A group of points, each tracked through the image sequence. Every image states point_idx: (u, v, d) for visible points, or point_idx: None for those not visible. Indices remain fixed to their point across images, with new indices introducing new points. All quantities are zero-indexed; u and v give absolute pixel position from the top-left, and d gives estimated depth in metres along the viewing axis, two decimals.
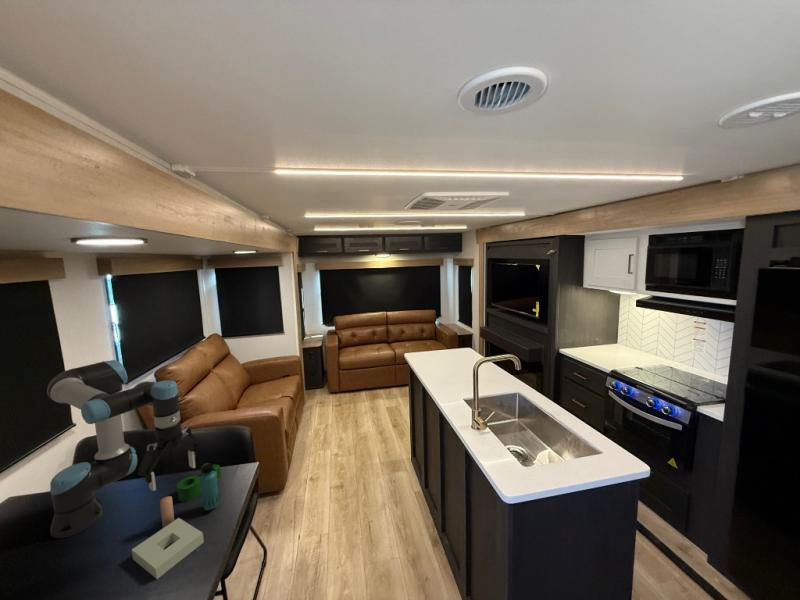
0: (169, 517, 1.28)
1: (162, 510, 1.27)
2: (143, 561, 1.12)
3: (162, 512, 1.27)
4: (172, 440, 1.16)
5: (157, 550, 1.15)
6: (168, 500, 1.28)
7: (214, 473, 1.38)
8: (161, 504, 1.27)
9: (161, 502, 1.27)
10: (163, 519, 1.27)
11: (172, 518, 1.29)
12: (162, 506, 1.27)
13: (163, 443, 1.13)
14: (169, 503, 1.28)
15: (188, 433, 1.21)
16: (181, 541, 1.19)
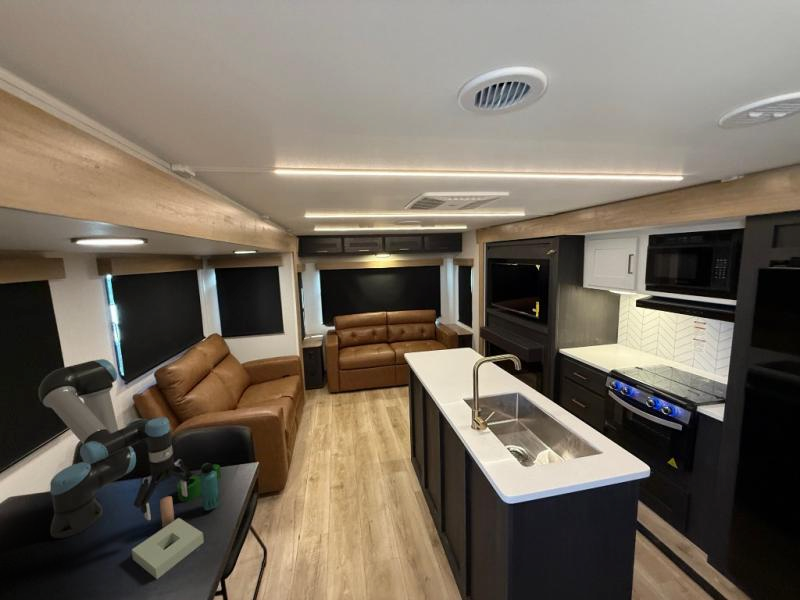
0: (169, 517, 1.28)
1: (162, 510, 1.27)
2: (143, 561, 1.12)
3: (162, 512, 1.27)
4: (165, 472, 1.27)
5: (157, 550, 1.15)
6: (168, 500, 1.28)
7: (214, 473, 1.38)
8: (161, 504, 1.27)
9: (161, 502, 1.27)
10: (163, 519, 1.27)
11: (172, 518, 1.29)
12: (162, 506, 1.27)
13: (157, 476, 1.24)
14: (169, 503, 1.28)
15: (180, 465, 1.32)
16: (181, 541, 1.19)
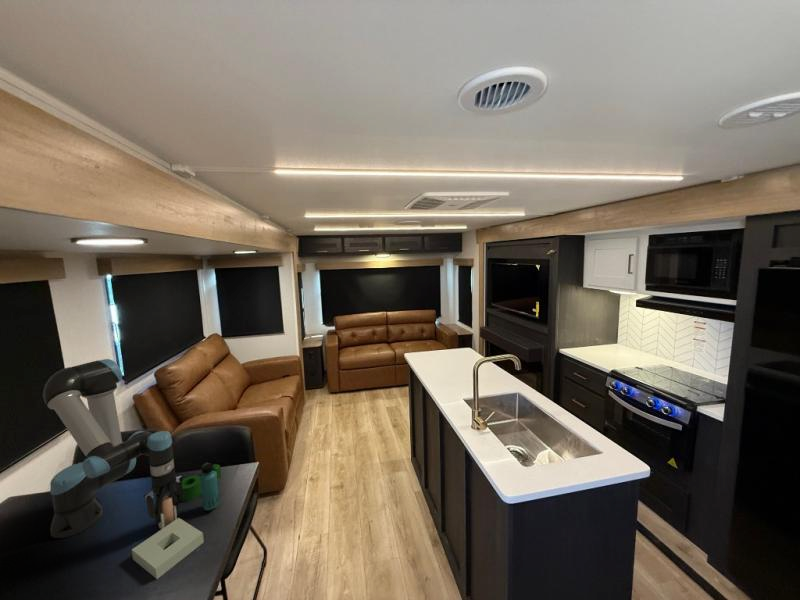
0: (168, 517, 1.28)
1: (162, 509, 1.27)
2: (143, 561, 1.12)
3: (162, 511, 1.27)
4: (167, 484, 1.28)
5: (157, 550, 1.15)
6: (168, 499, 1.28)
7: (214, 473, 1.38)
8: None
9: None
10: None
11: (172, 517, 1.29)
12: (162, 505, 1.27)
13: (158, 488, 1.25)
14: (169, 502, 1.28)
15: (180, 481, 1.32)
16: (181, 541, 1.19)
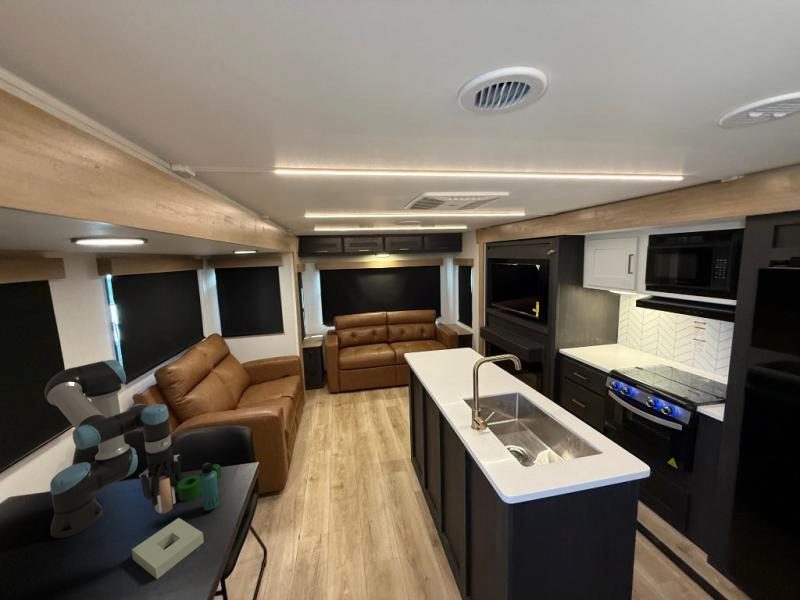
0: (166, 499, 1.16)
1: (158, 490, 1.15)
2: (143, 561, 1.12)
3: (158, 493, 1.15)
4: (163, 463, 1.16)
5: (157, 550, 1.15)
6: (165, 480, 1.17)
7: (214, 473, 1.38)
8: None
9: None
10: None
11: (170, 500, 1.18)
12: (158, 486, 1.15)
13: (154, 467, 1.13)
14: (166, 483, 1.16)
15: (178, 460, 1.20)
16: (181, 541, 1.19)
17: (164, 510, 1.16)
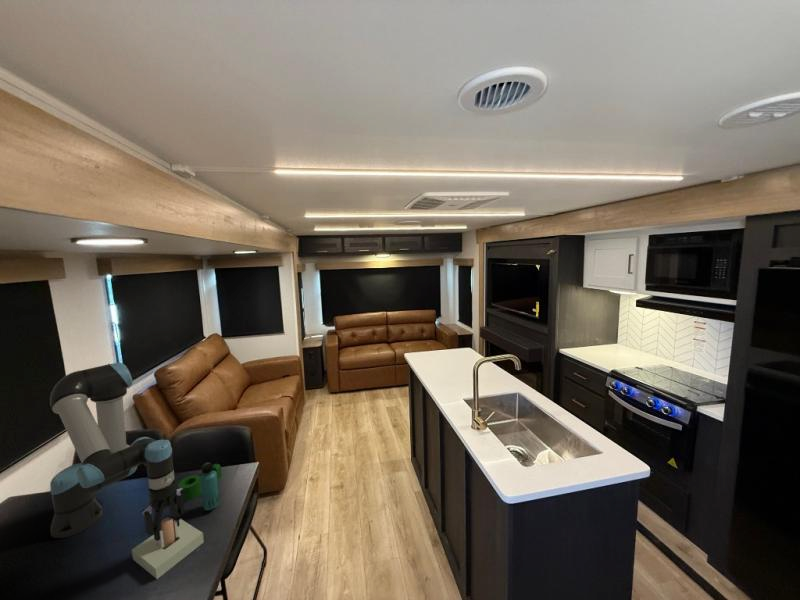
0: (169, 541, 1.17)
1: None
2: (143, 561, 1.12)
3: None
4: (166, 498, 1.16)
5: (157, 550, 1.15)
6: (169, 522, 1.17)
7: (214, 473, 1.38)
8: (161, 527, 1.16)
9: (161, 524, 1.16)
10: None
11: (173, 541, 1.19)
12: (162, 529, 1.16)
13: (157, 503, 1.14)
14: (170, 525, 1.17)
15: (181, 494, 1.21)
16: (181, 541, 1.19)
17: None
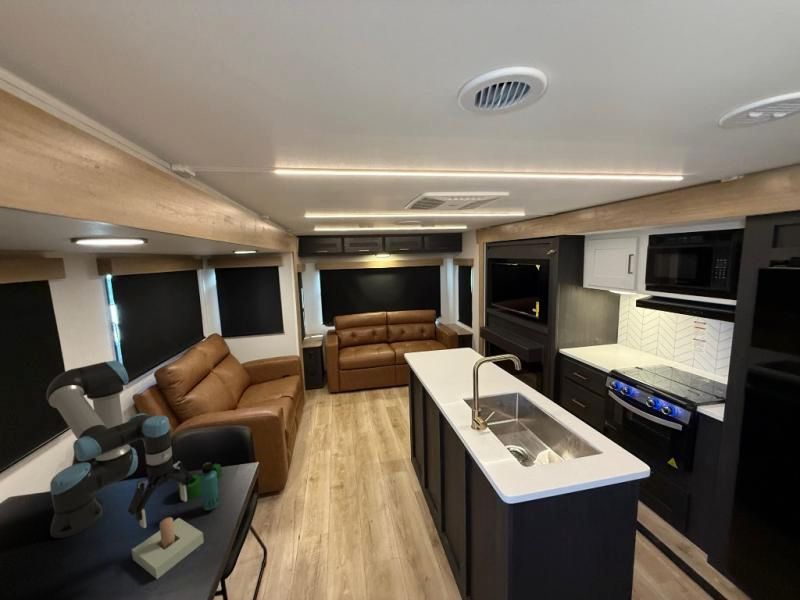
0: (169, 541, 1.17)
1: (162, 533, 1.16)
2: (143, 561, 1.12)
3: (162, 535, 1.16)
4: (163, 476, 1.15)
5: (157, 550, 1.15)
6: (169, 522, 1.18)
7: (214, 473, 1.38)
8: (161, 527, 1.16)
9: (161, 524, 1.16)
10: (163, 543, 1.17)
11: (173, 541, 1.19)
12: (162, 529, 1.16)
13: (154, 480, 1.13)
14: (170, 525, 1.17)
15: (180, 467, 1.20)
16: (181, 541, 1.19)
17: None
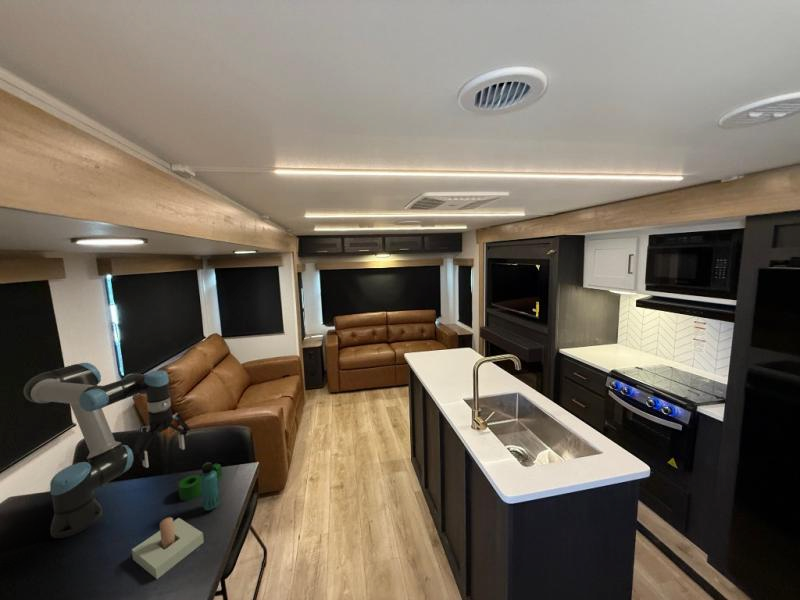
0: (169, 541, 1.17)
1: (162, 533, 1.16)
2: (143, 561, 1.12)
3: (162, 535, 1.16)
4: (163, 423, 1.30)
5: (157, 550, 1.15)
6: (169, 522, 1.18)
7: (214, 473, 1.38)
8: (161, 527, 1.16)
9: (161, 524, 1.16)
10: (163, 543, 1.17)
11: (173, 541, 1.19)
12: (162, 529, 1.16)
13: (155, 426, 1.28)
14: (170, 525, 1.17)
15: (178, 418, 1.35)
16: (181, 541, 1.19)
17: None
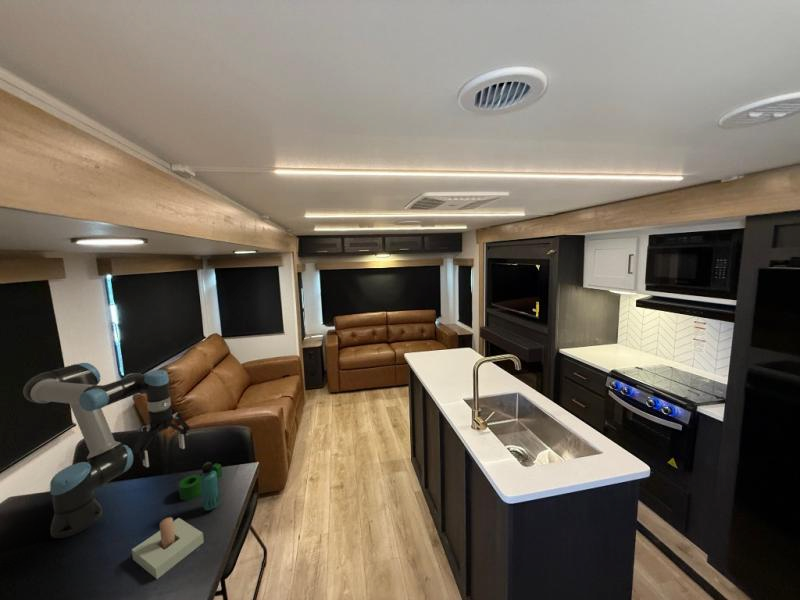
0: (169, 541, 1.17)
1: (162, 533, 1.16)
2: (143, 561, 1.12)
3: (162, 535, 1.16)
4: (163, 423, 1.31)
5: (157, 550, 1.15)
6: (168, 522, 1.17)
7: (214, 473, 1.38)
8: (161, 527, 1.16)
9: (161, 524, 1.16)
10: (163, 543, 1.17)
11: (173, 541, 1.19)
12: (162, 529, 1.16)
13: (155, 425, 1.28)
14: (170, 525, 1.17)
15: (178, 417, 1.36)
16: (181, 541, 1.19)
17: None
